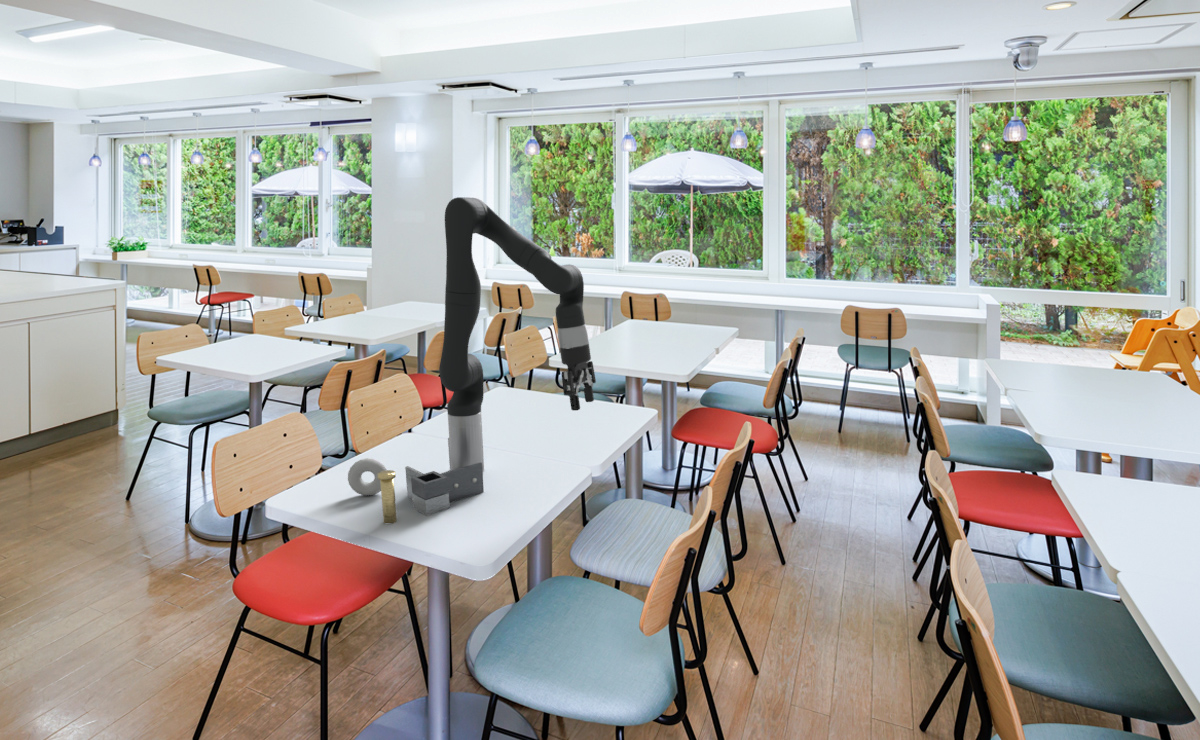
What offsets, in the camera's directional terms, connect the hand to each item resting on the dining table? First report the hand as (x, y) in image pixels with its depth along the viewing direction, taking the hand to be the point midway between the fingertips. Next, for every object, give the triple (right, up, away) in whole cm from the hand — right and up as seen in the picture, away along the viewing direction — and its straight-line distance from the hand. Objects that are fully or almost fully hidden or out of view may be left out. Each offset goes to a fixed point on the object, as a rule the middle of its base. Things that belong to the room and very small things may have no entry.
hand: (583, 405), depth 185 cm
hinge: (-36, -23, -1) cm, 43 cm away
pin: (-45, -27, -15) cm, 55 cm away
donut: (-55, -23, +1) cm, 60 cm away
